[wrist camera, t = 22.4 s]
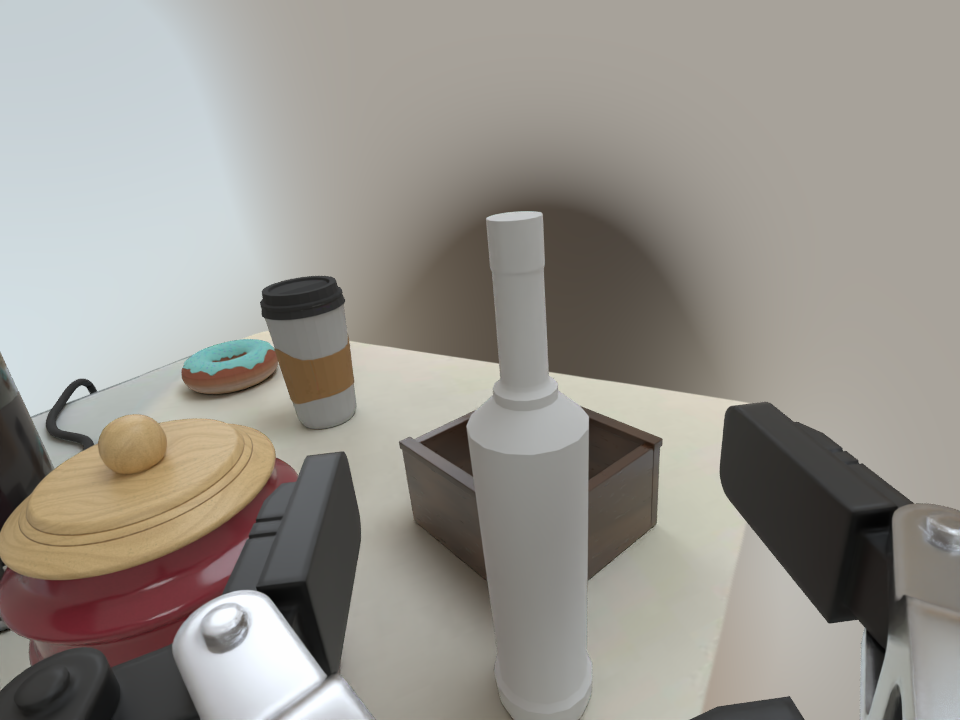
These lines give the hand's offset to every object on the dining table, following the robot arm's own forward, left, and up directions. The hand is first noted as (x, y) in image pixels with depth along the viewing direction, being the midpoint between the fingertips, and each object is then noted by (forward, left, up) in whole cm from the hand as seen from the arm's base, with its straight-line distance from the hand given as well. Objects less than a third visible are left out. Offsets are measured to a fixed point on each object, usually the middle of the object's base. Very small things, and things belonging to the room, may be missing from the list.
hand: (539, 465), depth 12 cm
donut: (-67, +9, -22) cm, 71 cm away
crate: (-18, +16, -21) cm, 32 cm away
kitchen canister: (-20, -6, -22) cm, 30 cm away
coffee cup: (-47, +13, -22) cm, 53 cm away
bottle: (-8, +7, -22) cm, 24 cm away
